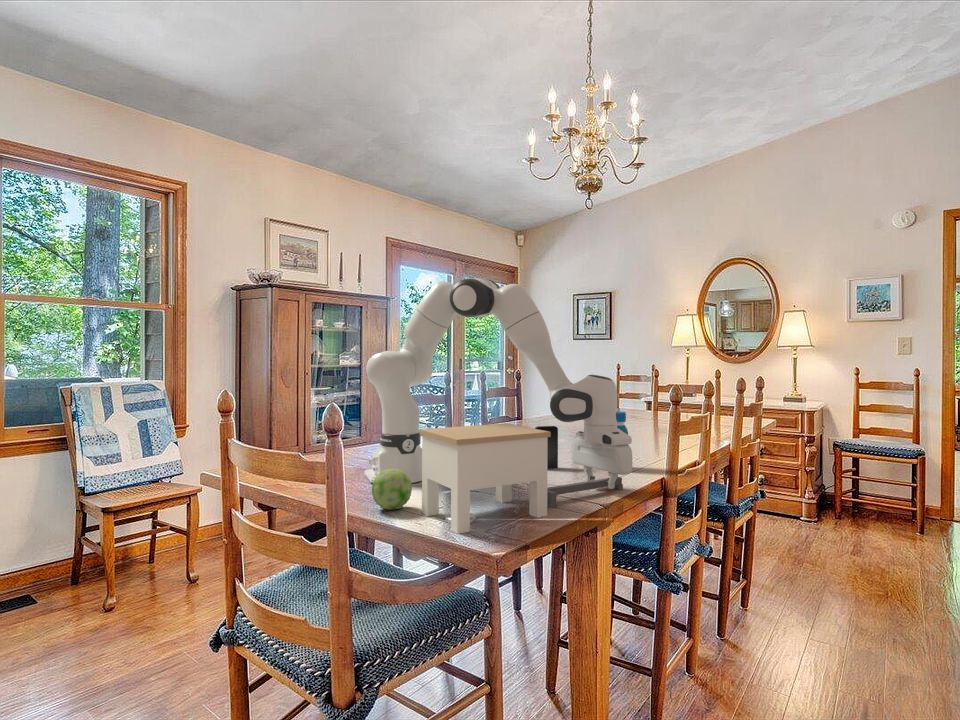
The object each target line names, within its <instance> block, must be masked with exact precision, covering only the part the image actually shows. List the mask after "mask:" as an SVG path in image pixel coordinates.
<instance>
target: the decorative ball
mask: <svg viewBox="0 0 960 720" xmlns="http://www.w3.org/2000/svg"><path fill="white" fill-rule="evenodd" d="M412 489H413V486H412V483H411V480H410V479H409V477H408V476H407V475H406V474H405V473H404V472H402V471H401V470H398V469H387V470H384V471H382V472H381V473H380V474H379V475H377V476H376V478H375V479H374V481H373V483H372V486H371V494H372V498H373V501H374V503H376V505H378V506H379V507H380V508H381V509H385V510H387V511H395V510H398V509H400V508H402V507H403V506H405V505H406V504H407V502H409V500H410V499H411V495H412V492H413V490H412Z"/></svg>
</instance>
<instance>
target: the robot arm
mask: <svg viewBox="0 0 960 720" xmlns="http://www.w3.org/2000/svg"><path fill="white" fill-rule="evenodd" d="M458 315H459V316H462V317H465V318H481V317H484V316H490V315H493V316H494V317H496V318H497V320H498V321H499V323H500V324H501V327H502V328H503V330H504V332H505V334H506V335H507V337H508V339H509V340H510V342H511V343H512V345H513V346H514V347H515V348H516V350H518V351H519V352H520V354H522V355H524V356H525V357H526V358H527V359H528V360H529V361H530V362H532V363H533V365H534V366H535V367H536V369H537V371H538V373H539V375H540V376H541V378H542V380H543V381H544V384H545V385H546V388H547V389H548V392H549V395H550V402H549V409H550V411H551V414H552V415H553V416H554V418H555V419H556V420H558V421H560V422H564V423H573V422H578V421H582V420H583V431H582V430H578V431H577V432H576V433H575V435H574V440H573V443H572V450H571V451H572V452H571V459H572V460H571V461H572V463H573V464H576V465H580V466H583V472H584V473H585V477H586V481H593V480H596V476H595V475H593V471H592V470H593V469H596V470H599V471H604V472H608V476H609V477H608V478H609V481H606V487H605V488H607V489H610V490H614V489H613V488H614V487H615V481H616V479H617V477H619V476H625V475H630V473H631V472H632V471H633V450H632V447H631V446H630V445H631V444H632V442H633V440H632V436H630V435H629V434H628V435H627V434H626V433H624V432H623V431H621V430H620V429H618V428H617V420H616V411H618V393H617V386H616V383H615V382H614V380H613V379H611V378H610V377H607V376H602V375H599V374H588V375H586V376H585V377H584V378H582V379H580V380H579V381H577V382H574V383H573V382H571V381H570V379H568V377H567V375H566V373H565V371H564V369H563V368H562V366H561V364H560V362H559V361H558V359H557V358H556V355H555V352H554V350H553V347H552V340H551V336H550V333H549V330H548V327H547V326H548V325H546V322H545V319H544V317H543V315H542V314H541V312H540V310H539V308H538V306H537V305H536V303H535V302H534V300H533V299H532V298H531V295H529V293H528V292H527V291H526V289H525V288H523V286H522V285H520V284H517V283H510V284H506V285H503V286H502V287H500V286H499V285H498V284H497V283H496V282H494V281H493V280H491V279H487V278H482V277H473V278H471V277H470V278H468V277H467V278H463V279H461V280H459V281H458V282H456V283H454V284H453V283H451V282H449V281H444V280H443V281H442V280H440V281H437V282H435V283H434V284H433V285H432V286H431V287H430V289H429V290H428V291H427V292H426V293H425V295H423V297H422V298H421V300H420V302H419V303H418V305H416V307H415V309H414V311H413V312H412V315H411V317H410V318H409V319H408V321H407V323H406V324H405V326H404V328H403V330H404V336H405V340H404V343H403V346H402V347H401V349H400V350H384V351H381V352H378V353H375V354H373V355H372V356H371V357H369V358H368V361H367V363H366V366H365V373H366V377H367V379H368V381H369V382H370V383H371V384H372V385H373V387H375V389H376V392H377V395H378V398H379V400H380V406H381V415H382V416H381V424H382V425H381V426H382V429H381V431H382V432H381V433H380V436H379V447H378V448H377V449H376V451H375V452H374V453H373V455H371V456H372V457H369V458H368V466H371V468H368V469H366V470H365V469H364V475H365V477H366V478H367V479H368V481H369V482H370V483H372V484H373V481H374V479H375V478H376V476H377V475H379V474H380V473H381V472H382V471H384V470H387V469H398V470H401V471H402V472H404V473H405V474H406V475H407V476H408V477H409V479H410V480H411V484H412V483H413V484H414V483H419V482H422V446H420V445H421V444H422V441H421V440H422V435H420V434H419V429H420V407H419V405H418V403H416V402H415V400H414V399H413V396H412V392H411V388H410V387H416V386H419V385H422V384H423V383H425V382H427V381H429V379H430V378H431V376H432V375H433V371H434V367H433V358H434V355H435V351H436V349H437V347H438V345H439V344H440V342H441V340H442V339H443V337H444V336H445V334H446V332H447V330H449V327H450V326H451V324H452V323H453V322H454V320H455V318H456V317H457V316H458Z"/></svg>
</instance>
